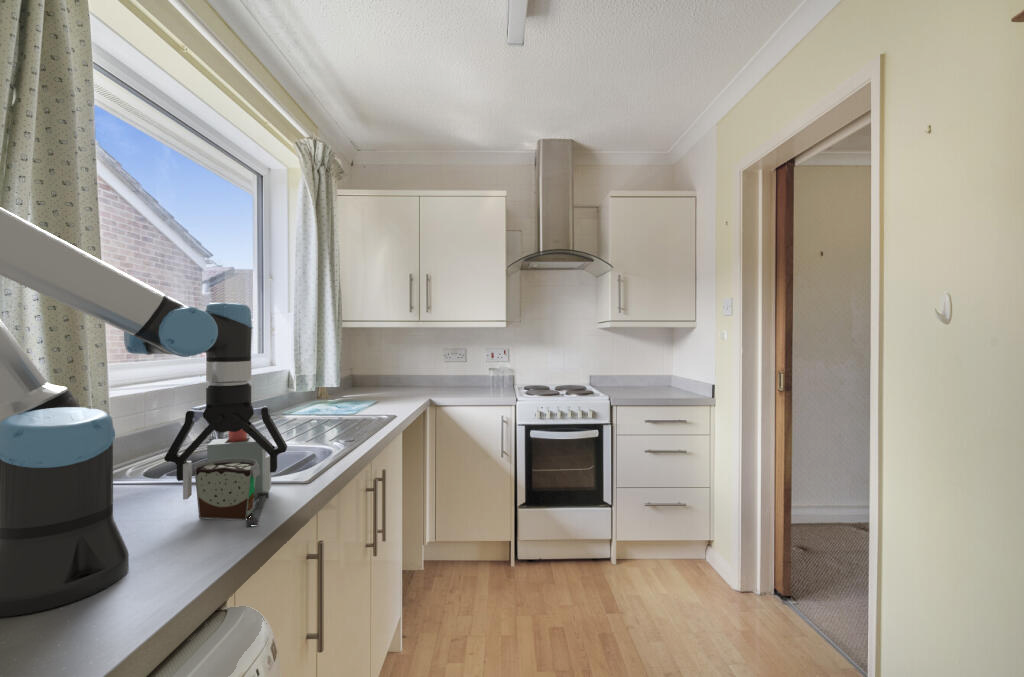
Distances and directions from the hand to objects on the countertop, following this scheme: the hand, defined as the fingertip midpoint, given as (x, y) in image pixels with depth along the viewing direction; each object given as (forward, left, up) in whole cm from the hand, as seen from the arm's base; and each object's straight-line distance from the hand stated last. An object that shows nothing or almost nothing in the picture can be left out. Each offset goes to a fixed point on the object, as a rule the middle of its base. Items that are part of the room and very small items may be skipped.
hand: (228, 493), depth 91 cm
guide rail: (+5, -1, -4) cm, 6 cm away
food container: (+1, -1, -4) cm, 4 cm away
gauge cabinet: (0, +10, -4) cm, 10 cm away
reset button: (0, +10, +8) cm, 13 cm away
